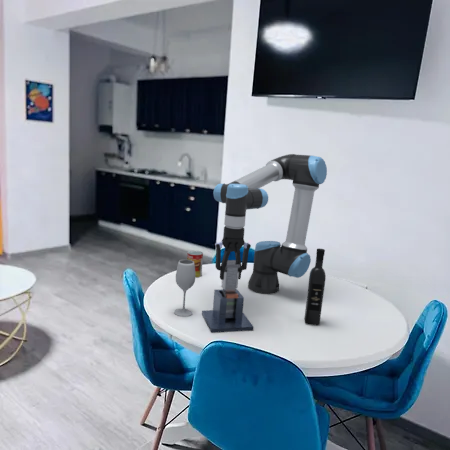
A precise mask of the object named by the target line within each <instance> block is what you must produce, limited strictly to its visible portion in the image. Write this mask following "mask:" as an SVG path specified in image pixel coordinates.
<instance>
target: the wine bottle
mask: <svg viewBox="0 0 450 450" xmlns="http://www.w3.org/2000/svg"><path fill="white" fill-rule="evenodd" d="M325 251H326V250H325V249H324V248H317V249H316V253H315V255H316V256H315V257H316V258H315V264H314V266H313V267H312V268H311V270H310V272H309V277H308V284H307V292H306V301H305V310H304V316H303V319H304V320H303V321H304V324H305V325H307V326H308V325H310V326H317V327H318V326H320V323H321V315H322V309H323V302H324V301H323V300H324V299H323V298H324V293H325V285H326V272H325V269H324V268H323V265H324V258H325V257H324V256H325Z"/></svg>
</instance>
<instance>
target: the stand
mask: <svg viewBox="0 0 450 450" xmlns="http://www.w3.org/2000/svg"><path fill="white" fill-rule="evenodd" d="M222 291H223V288H221V289H214V291H213V293H214V295H213V303H212V304H213V307H212V309H211V310H209V309H207V310H201V315H202V318H203V319H204V322H205V324H206V325H207V328H208V330H209V332H210V333H211V334H215V333H232V332H233V333H235V332H249V331H250V332H252V331H254V328H255V327H254V325H253V324H252V322H250V320H249V318H248V317H247V316H246V314H245V313H244V304H245V303H244V301H245V297H244V296H243V295H242V294H241V293H240V291H239V289H238V288H237V289H236V294H226V297H223V296H222ZM227 298H235V308H234V309H235V312H234V318H226V306H227Z"/></svg>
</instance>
